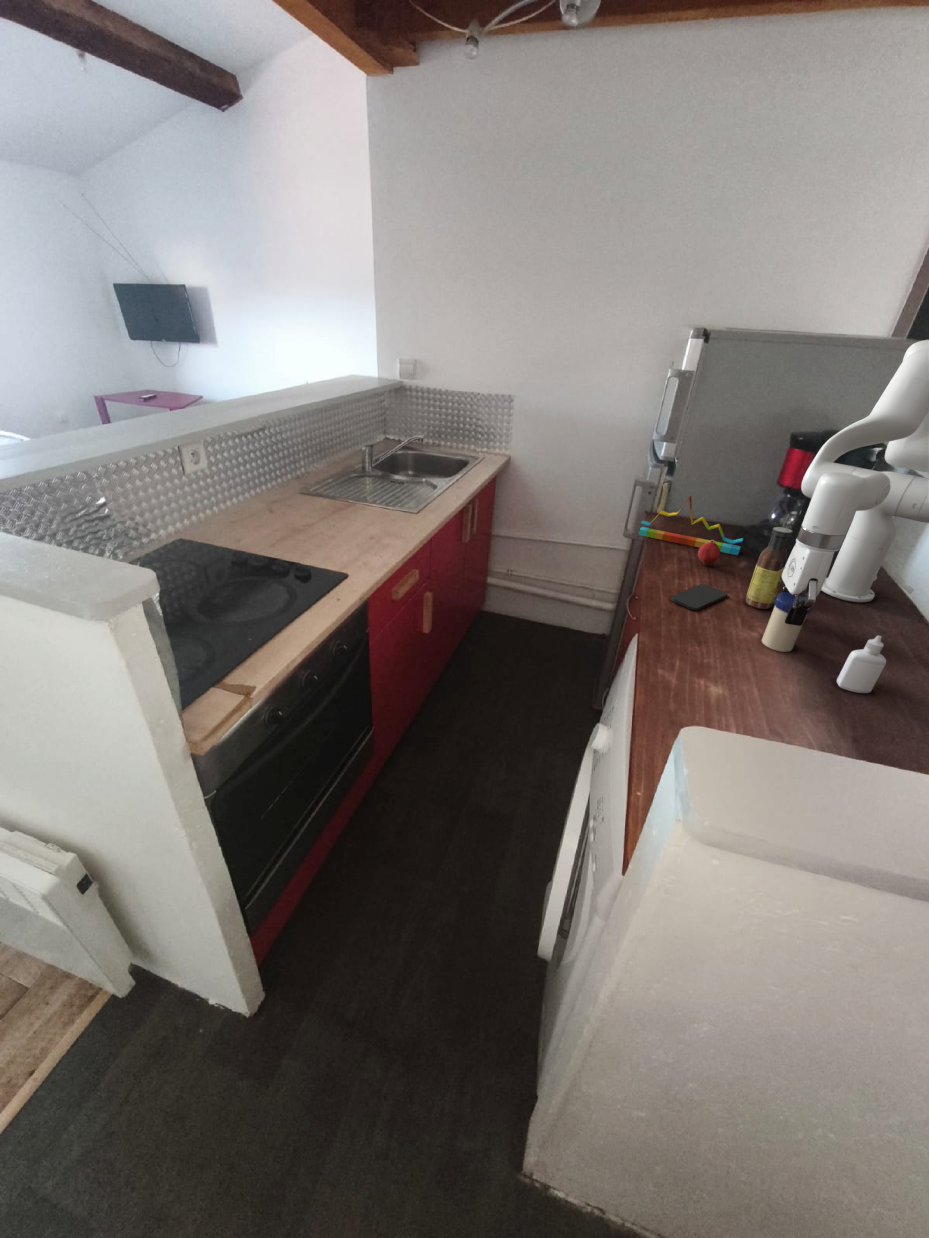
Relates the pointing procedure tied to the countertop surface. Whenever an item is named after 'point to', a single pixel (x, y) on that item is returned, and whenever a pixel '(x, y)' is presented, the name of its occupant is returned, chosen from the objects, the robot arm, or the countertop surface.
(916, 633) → the countertop surface
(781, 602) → the jar lid
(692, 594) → the phone
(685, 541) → the chart
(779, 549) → the sauce bottle
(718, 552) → the onion
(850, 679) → the eye dropper bottle
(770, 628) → the mayonnaise jar
